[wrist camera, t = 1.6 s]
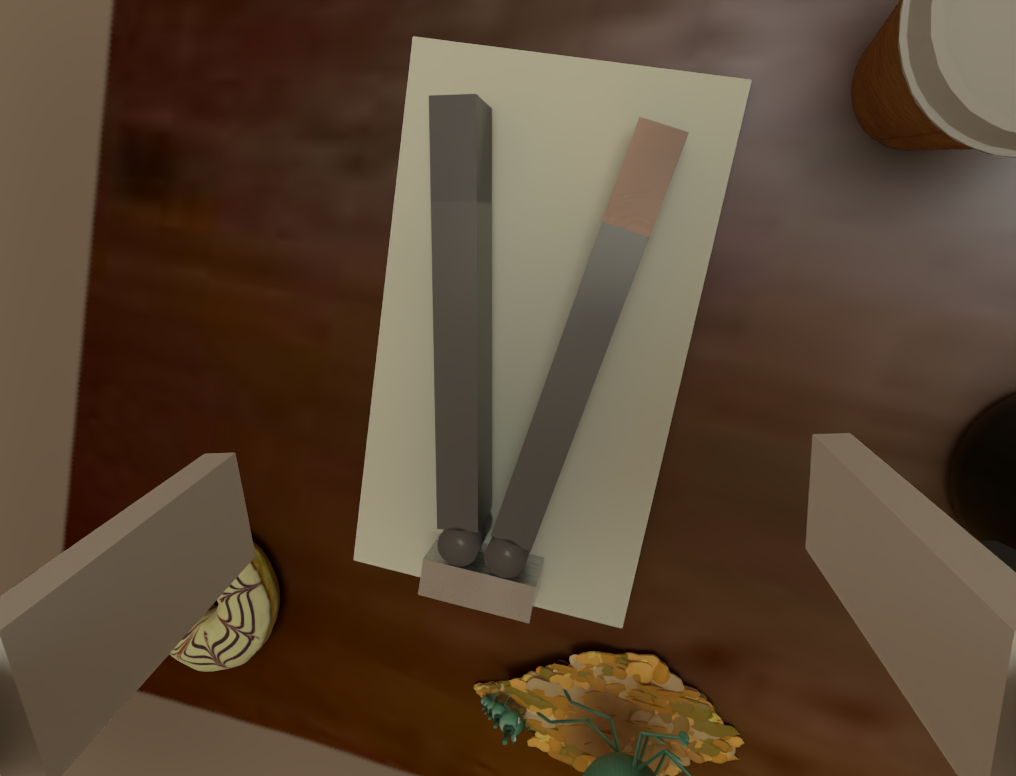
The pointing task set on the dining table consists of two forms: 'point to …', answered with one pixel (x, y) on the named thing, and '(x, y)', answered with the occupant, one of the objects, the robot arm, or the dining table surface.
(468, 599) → the tong hinge cap
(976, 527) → the beer bottle
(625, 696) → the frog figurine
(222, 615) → the decorated donut
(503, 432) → the tong mat
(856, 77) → the disposable coffee cup
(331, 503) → the dining table surface
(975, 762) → the robot arm
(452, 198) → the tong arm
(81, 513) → the dining table surface
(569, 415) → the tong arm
